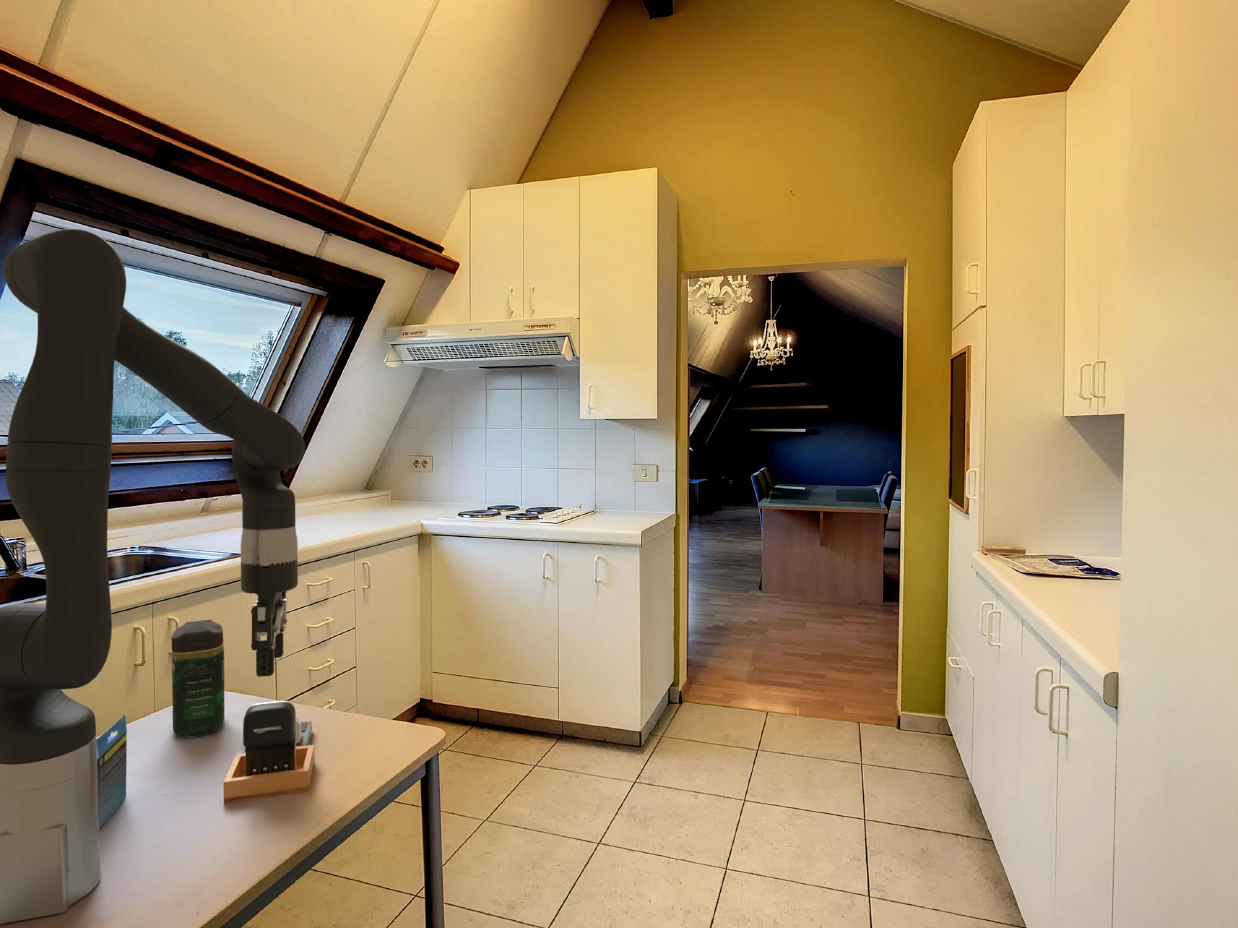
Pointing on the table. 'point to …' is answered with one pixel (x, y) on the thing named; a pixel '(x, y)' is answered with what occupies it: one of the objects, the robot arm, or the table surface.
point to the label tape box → (111, 769)
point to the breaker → (298, 729)
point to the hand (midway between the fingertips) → (270, 666)
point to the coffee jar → (197, 678)
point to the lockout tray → (268, 778)
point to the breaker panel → (304, 734)
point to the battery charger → (270, 737)
